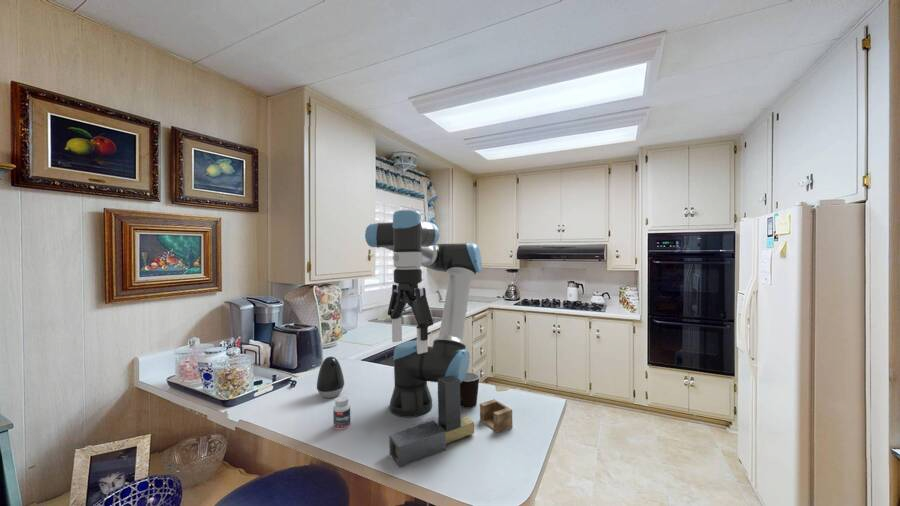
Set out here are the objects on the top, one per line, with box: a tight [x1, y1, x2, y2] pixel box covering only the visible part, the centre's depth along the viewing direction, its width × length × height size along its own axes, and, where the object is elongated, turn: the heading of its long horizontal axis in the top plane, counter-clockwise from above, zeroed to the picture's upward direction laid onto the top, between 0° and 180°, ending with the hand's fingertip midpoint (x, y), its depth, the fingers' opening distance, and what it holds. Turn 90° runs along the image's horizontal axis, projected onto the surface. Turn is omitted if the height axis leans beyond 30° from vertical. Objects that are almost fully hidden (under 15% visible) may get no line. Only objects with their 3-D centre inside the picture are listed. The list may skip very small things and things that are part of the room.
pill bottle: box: [332, 395, 351, 431], centre depth 109 cm, size 5×5×9 cm
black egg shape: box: [316, 356, 345, 399], centre depth 132 cm, size 10×10×15 cm
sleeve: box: [388, 420, 447, 468], centre depth 94 cm, size 14×7×6 cm, turn 121°
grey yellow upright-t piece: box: [395, 375, 475, 456], centre depth 97 cm, size 24×4×17 cm, turn 121°
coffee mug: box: [460, 371, 480, 409], centre depth 124 cm, size 12×9×10 cm
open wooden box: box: [479, 398, 514, 434], centre depth 109 cm, size 6×9×6 cm, turn 31°
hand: (409, 346), depth 91 cm, fingers open, 13 cm apart
